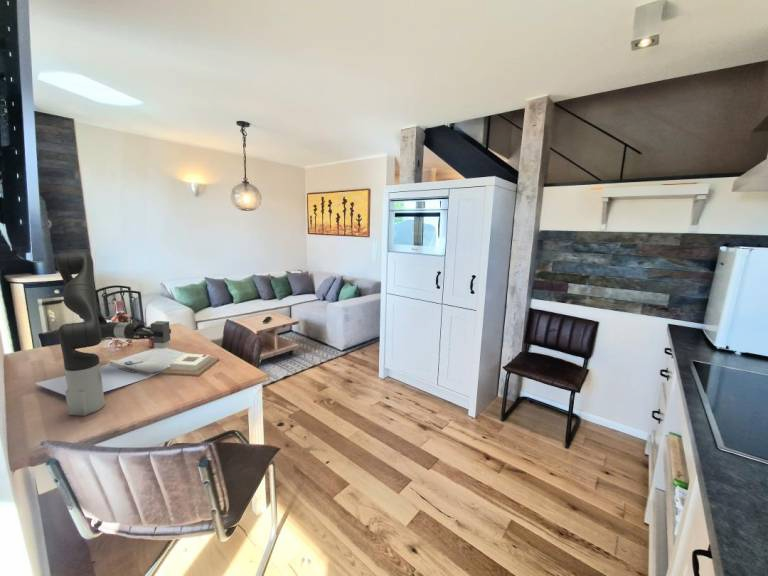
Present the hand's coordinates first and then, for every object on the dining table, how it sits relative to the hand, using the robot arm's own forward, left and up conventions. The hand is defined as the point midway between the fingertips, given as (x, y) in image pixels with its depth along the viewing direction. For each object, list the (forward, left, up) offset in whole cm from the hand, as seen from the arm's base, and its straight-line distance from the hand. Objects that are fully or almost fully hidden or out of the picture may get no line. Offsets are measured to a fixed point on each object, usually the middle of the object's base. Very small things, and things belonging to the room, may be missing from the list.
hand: (166, 332), depth 147 cm
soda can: (+28, +26, -19) cm, 43 cm away
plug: (0, +3, -7) cm, 8 cm away
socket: (+6, -7, -19) cm, 21 cm away
